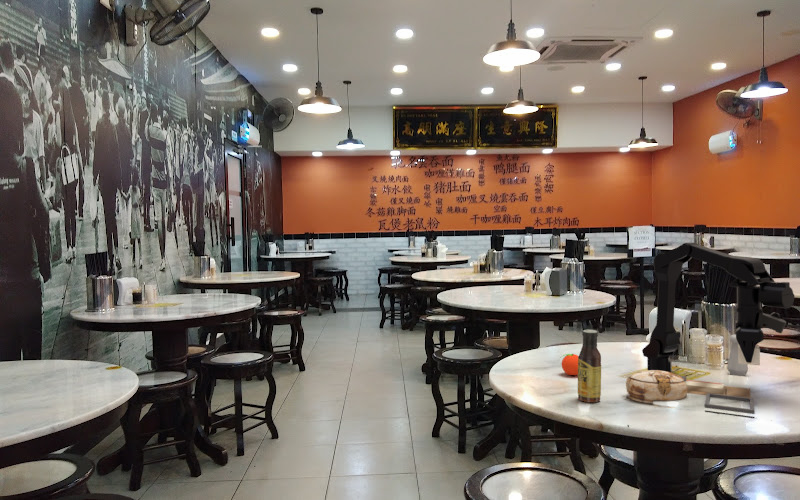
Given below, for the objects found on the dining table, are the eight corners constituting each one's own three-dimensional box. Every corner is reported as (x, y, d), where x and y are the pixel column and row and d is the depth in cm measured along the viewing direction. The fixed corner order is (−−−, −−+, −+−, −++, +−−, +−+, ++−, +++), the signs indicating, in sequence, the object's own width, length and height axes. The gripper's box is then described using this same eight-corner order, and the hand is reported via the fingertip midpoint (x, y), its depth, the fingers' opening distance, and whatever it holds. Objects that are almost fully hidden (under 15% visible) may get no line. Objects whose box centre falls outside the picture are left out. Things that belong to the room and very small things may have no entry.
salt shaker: (751, 378, 178) (751, 337, 177) (730, 377, 179) (731, 336, 179) (743, 373, 184) (744, 333, 183) (724, 372, 185) (724, 333, 184)
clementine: (557, 376, 185) (556, 355, 184) (559, 371, 191) (559, 350, 191) (582, 379, 182) (582, 356, 181) (584, 373, 188) (584, 352, 188)
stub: (738, 363, 157) (738, 347, 157) (738, 358, 162) (738, 342, 162) (759, 365, 154) (759, 348, 154) (758, 360, 159) (758, 344, 159)
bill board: (676, 395, 162) (676, 383, 162) (680, 384, 173) (680, 373, 173) (750, 404, 153) (751, 392, 153) (749, 392, 164) (749, 380, 163)
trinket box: (618, 397, 162) (618, 370, 162) (652, 388, 170) (652, 362, 170) (660, 410, 151) (660, 381, 150) (694, 400, 158) (695, 372, 158)
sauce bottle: (574, 397, 163) (573, 328, 162) (595, 396, 164) (594, 327, 163) (583, 404, 157) (582, 333, 156) (605, 403, 157) (605, 332, 156)
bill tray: (704, 411, 149) (704, 404, 149) (706, 399, 158) (706, 392, 158) (754, 418, 143) (754, 410, 143) (753, 405, 153) (753, 398, 152)
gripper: (786, 310, 145) (786, 371, 146) (781, 301, 161) (781, 355, 162) (736, 308, 151) (735, 366, 152) (735, 299, 167) (735, 351, 168)
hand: (748, 359), depth 158 cm, fingers closed on stub, 6 cm apart
